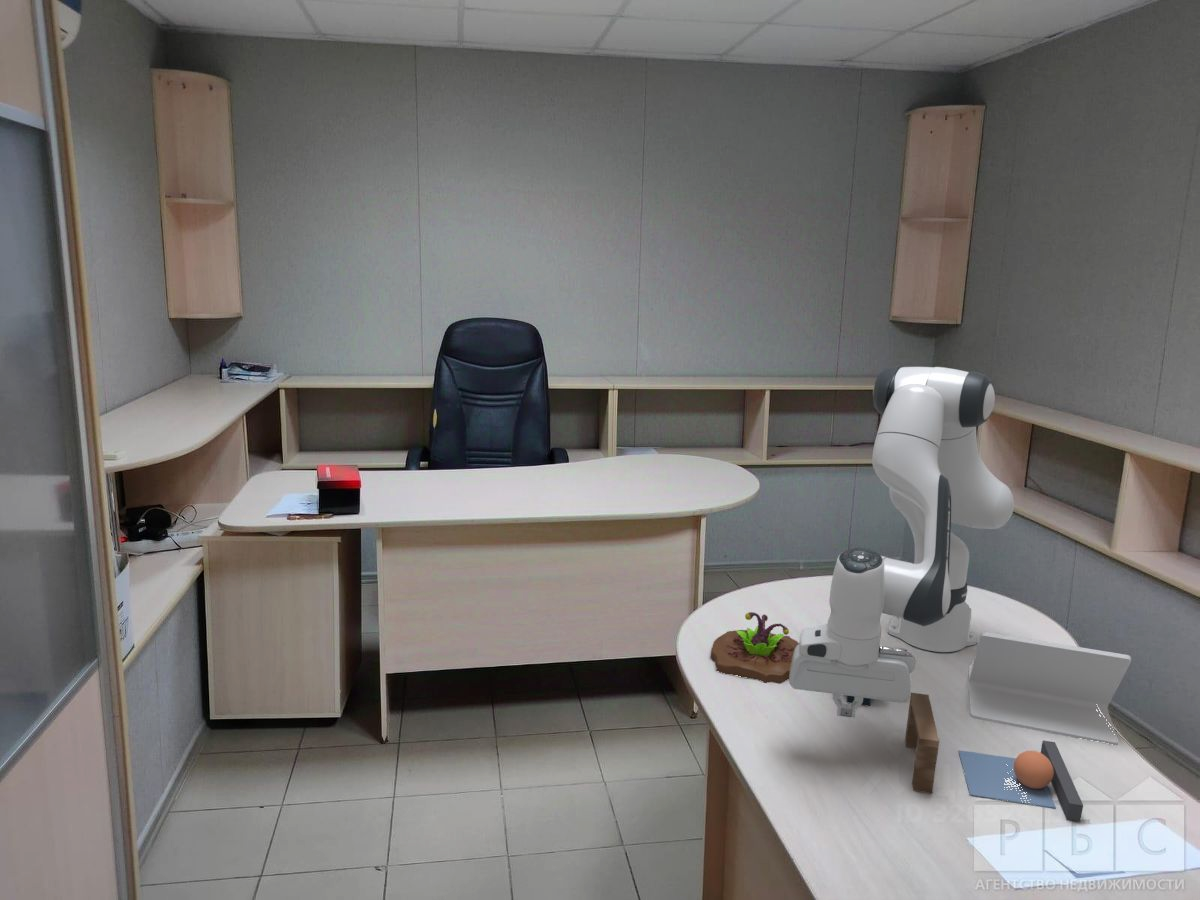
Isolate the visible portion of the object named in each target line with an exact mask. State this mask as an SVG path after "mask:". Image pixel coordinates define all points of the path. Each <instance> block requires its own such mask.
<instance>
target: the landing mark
mask: <svg viewBox="0 0 1200 900" xmlns="http://www.w3.org/2000/svg"><path fill="white" fill-rule="evenodd" d="M958 755H959V759H960V762H961V763H960V764H961V767H962V766H963V767H962V770H963V769H964V771H963V774H964V773H965V775H964V778H965V777H966V778H965V782H966V781H967V782H966V786H967V789H969V790H968V793H970V794H969V796H970V795H974V796H973V797H976V796H980V797H979V798H982V797H986V798H985V799H989V798H990V799H989V800H995V799H998V800H997V801H1002V800H1006V801H1005V802H1008V801H1012V802H1011V803H1015V802H1021V803H1022V801H1023V803H1025V801H1024V800H1026V803H1027V804H1026V805H1028V804H1032V805H1031V806H1034V805H1036V807H1041V808H1047V809H1054V810H1055V809H1056V808H1057V807H1056V805H1055V802H1054V799H1053V796H1052V794H1051V792H1050V790H1049V787H1048V785H1047V786H1045V787H1043V788H1039V789H1034V788H1029V787H1027V786H1025V785H1024V784H1022V783H1021V782H1020V781H1019V780H1018V779H1017V777H1016V775H1015V772H1014V762H1015V759H1016V758H1017V757H1016V758H1015V757H1009V756H1001V755H995V754H988V753H987V754H986V753H982V752H981V753H980V752H974V751H967V750H959V749H958ZM1006 764H1007V765H1008V766H1007V765H1006ZM1012 769H1013V770H1012ZM1010 771H1011V772H1010ZM1007 772H1008V773H1009V774H1008V773H1007ZM1012 776H1013V777H1012ZM1010 777H1011V778H1012V779H1013V780H1012V781H1013V782H1015V781H1016V784H1018V785H1019V783H1020V784H1021V785H1020V786H1018V787H1019V789H1018V787H1011V785H1004V783H1005V784H1007V783H1009V782H1007V783H1006V782H1005V779H1006V780H1008V779H1007V778H1009V779H1010ZM1004 778H1005V779H1004ZM1010 780H1011V779H1010ZM1014 780H1015V781H1014ZM1012 781H1010V782H1011V783H1012ZM1009 784H1010V783H1009ZM1012 784H1013V783H1012ZM1016 784H1014V785H1016ZM1014 785H1012V786H1014ZM1008 786H1010V788H1009V787H1008ZM1016 786H1017V785H1016ZM1004 787H1005V788H1004ZM1006 787H1008V788H1006ZM1021 787H1022V788H1021ZM1012 788H1013V789H1012ZM1015 788H1017V789H1015ZM1004 789H1005V790H1004ZM1007 789H1008V790H1007ZM1010 789H1012V790H1010ZM1022 789H1023V790H1022ZM1016 790H1017V791H1016ZM1019 790H1021V791H1019ZM1023 792H1025V793H1026V792H1027V793H1026V794H1024V793H1023ZM1018 793H1019V794H1018ZM1021 793H1023V794H1021ZM1022 795H1023V796H1025V795H1027V796H1026V797H1027V799H1026V797H1022ZM1020 798H1022V799H1020ZM1023 798H1025V799H1023ZM1030 799H1031V800H1030ZM1007 800H1008V801H1007ZM1021 800H1022V801H1021ZM1027 800H1029V801H1027ZM1028 802H1030V803H1028ZM1021 803H1020V804H1021ZM1033 804H1034V805H1033ZM1056 810H1057V809H1056Z"/></svg>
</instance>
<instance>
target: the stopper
mask: <svg viewBox="0 0 1200 900" xmlns="http://www.w3.org/2000/svg"><path fill="white" fill-rule="evenodd" d="M1040 753H1042V754H1043V755H1045V756H1046V757H1047V758H1048V759H1049V760H1050V762H1051V764H1052V766H1053V771H1054V774H1053V778H1052V781H1051V782H1050V783H1051V785H1052V788H1053V790H1054V793H1055V796H1056V797H1057V799H1058V802H1059V805H1060V808H1061V810H1062V812H1063V814H1064V815H1063V816H1064V817H1065V819H1066V820H1067V821H1072V822H1079V823H1080V822H1081V819H1082V814H1083V809H1084V804H1083V802H1082V799H1081V797H1080V795H1079V793H1078V790H1077V788H1076V786H1075V784H1074V782H1073V779H1072V777H1071V775H1070V773H1069V771H1068V768H1067V765H1066V763H1065V762H1064V759H1063V757H1062V755H1061V753H1060V751H1059V748H1058V745H1057V743H1056V742H1055V741H1051V740H1042V741H1041V749H1040Z"/></svg>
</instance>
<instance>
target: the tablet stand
mask: <svg viewBox="0 0 1200 900" xmlns="http://www.w3.org/2000/svg"><path fill="white" fill-rule="evenodd" d="M1131 663H1132V656H1131V655H1130V654H1129V655H1128V654H1124V653H1123V654H1122V653H1119V652H1117V653H1116V652H1112V651H1106V650H1100V649H1093V648H1087V647H1081V646H1074V645H1068V644H1061V643H1055V642H1049V641H1043V640H1037V639H1031V638H1025V637H1018V636H1013V635H1005V634H1002V633H1001V634H1000V633H993V632H988V631H982V632H981V633H980V636H979V640H978V644H977V648H976V651H975V657H974V660H973V663H971V664H969V667H968V675H967V676H968V677H967V678H968V679H967V680H968V681H967V682H968V684H967V685H968V697H969V712H970V717H971V718H972V719H975V720H979V721H980V720H981V721H986V722H989V723H990V722H991V723H996V724H1000V725H1001V724H1002V725H1006V726H1007V725H1008V726H1012V727H1018V728H1023V729H1027V730H1032V731H1036V732H1037V731H1038V732H1044V733H1048V734H1052V735H1053V734H1055V735H1060V736H1064V737H1069V736H1070V737H1069V738H1074V737H1075V738H1074V739H1079V738H1082V739H1081V740H1084V739H1087V740H1086V741H1090V740H1093V741H1092V742H1095V741H1099V742H1098V743H1100V742H1105V743H1109V744H1108V745H1111V744H1113V745H1112V746H1118V745H1119V738H1118V736H1117V733H1115V732H1116V730H1115V727H1114V724H1113V722H1112V719H1111V715H1110V712H1109V705H1110V703H1111V701H1112V699H1113V697H1114V695H1115V693H1116V691H1117V690H1118V689H1119V688H1118V687H1119V685H1120V684H1121V682H1122V680H1123V678H1124V676H1125V675H1126V673H1127V671H1128V669H1129V666H1130V665H1131ZM1096 704H1098V707H1099V708H1100V710H1101V712H1102V713H1103V715H1104V716H1105V718H1104V717H1103V715H1102V714H1101V713H1100V711H1099V709H1098V707H1097V705H1096ZM1096 709H1097V710H1098V712H1097V711H1096ZM1099 714H1100V715H1101V717H1100V716H1099ZM1106 719H1107V721H1106ZM1108 722H1109V723H1110V724H1111V725H1112V726H1110V725H1109V723H1108ZM1106 723H1107V724H1106ZM1108 725H1109V727H1108ZM1112 727H1113V728H1114V730H1113V728H1112ZM1110 728H1111V729H1110ZM1112 731H1113V732H1112ZM1114 734H1115V735H1114ZM1105 743H1104V744H1105Z"/></svg>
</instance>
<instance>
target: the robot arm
mask: <svg viewBox="0 0 1200 900" xmlns="http://www.w3.org/2000/svg"><path fill="white" fill-rule="evenodd" d="M995 394H996V393H995V390H994V383H993V381H992V380H991V379H990V377H988V375H986V374H983V373H981V372H978V371H973V370H970V371H966V370H960V369H956V368H952V367H951V368H950V367H949V368H948V367H944V366H934V367H932V366H904V365H892V366H887V367H885V368H884V369H882V370H881V371H880V372H879V373H878V375H877V377H876V379H875V382H874V385H873V389H872V400H873V401H872V402H873V407H874V408H875V410H876V411H877V413H879V414H880V416H882V417H881V420H880V423H879V425H878V429H877V431H876V436H875V441H874V444H873V448H872V458H871V464H872V469H873V470H874V472H875V475H876V476H877V477H878V479H879V480H880V481H881V482H882V483H883V485H885V486H886V487H888V492H889V493H888V494H889V499H890V501H891V503H892V504H893V506H894V507H895V508H896V509H897V510H898V511H899V512H900V513H901V514H902V515H903V517H904V518H905V520H906V522H907V523H908V526H909V527H910V530H911V533H912V535H913V536H912V537H913V541H914V561H913V563H912V562H910V561H909V562H908V561H904V560H899V559H894V558H892V557H888V556H885V555H884V556H883V555H881V554H880V553H878V552H877V551H875V550H872V549H869V548H865V547H854V548H849V549H845V550H844V551H842V552H841V553H840V554H839V555H838V557H837V560H836V562H835V566H834V570H833V574H832V577H831V578H832V579H831V584H830V590H829V591H830V592H829V606H830V614H829V617H828V620H827V624H826V623H825V624H821V625H815V626H809V627H805V628H803V629H802V630H801V631H800V635H799V642H798V643H799V644H798V645H797V646H796V648H795V650H794V653H793V657H792V661H791V666H790V674H789V680H788V683H789V685H790V686H791V688H792V689H794V690H803V691H808V692H817V693H823V694H832V697H831V699H832V700H833V702H834V704H835V706H836V707H837V708H836V710H837V711H836V712H837V713H836V714H837V716H838V717H846V718H847V717H848V718H852V719H853V718H855V717H856V716H855V715H856V710H858V709H859V707H860V706H862V705H861V704H862V703H863V698H870V699H871V700H879V701H888V702H894V703H895V702H896V703H904V704H905V703H907V701H910V696H911V692H912V691H911V690H912V689H911V687H912V685H911V682H912V681H911V674H913V672H914V671H915V669H916V661H917V660H916V657H915V656H914V654H913V653H912V652H909V651H908V650H907V649H905V648H895V647H894V648H893V647H889V646H881V636H882V635H881V634H882V625H881V616H882V614H885V615H889V616H891V620H890V622H889V626H888V630H887V633H888V634H889V635H891V636H893V637H895V638H898V639H901V640H902V641H903V642H905V643H907V644H909V645H911V646H913V647H915V648H918V649H922V650H925V651H929V652H930V651H931V652H936V653H937V652H938V653H951V652H957V651H960V650H963V649H964V648H967V647H969V646H974V645H976V644H977V638H976V636H974V634H973V633H972V632H971V623H972V622H971V619H972V608H971V607H970V605H969V604H968V603H967V602H966V599H967V595H968V583H967V577H968V570H969V569H968V568H969V562H970V552H969V551H970V550H969V549H968V546H967V545H966V544H965V542H964V541H963V540H962V538H959V537H958V536H957V535H956V534H954V533H953V532H952V530H951V529H952V524H955V525H960V526H963V527H964V526H965V527H967V528H968V527H969V528H973V529H987V530H988V529H989V530H992V529H993V530H994V529H996V530H998V529H1000V528H1002V527H1003V526H1004V525H1005V524H1007V522H1008V521H1009V520H1010V519H1011V517H1012V515H1013V513H1014V510H1015V509H1014V508H1015V498H1014V495H1013V493H1012V491H1011V489H1010V487H1009V486H1008V485H1007V484H1005V483H1003V481H1002V480H999V479H998V478H997V476H995V475H994V474H993V473H992V472H991V471H990V470H989V469H988V467H987V466H986V464H985V463H984V461H983V460H982V458H981V455H980V453H979V447H978V439H977V437H978V436H977V427H979V426H981V425H983V424H984V423H986V422H987V421H988V419H989V417H990V415H991V414H992V412H993V409H994V406H995V403H996V402H995V401H996V396H995ZM842 696H846V697H847V696H854V699H855V700H854V701H853V702H852V703H847V702H842V700H841V698H842Z"/></svg>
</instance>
